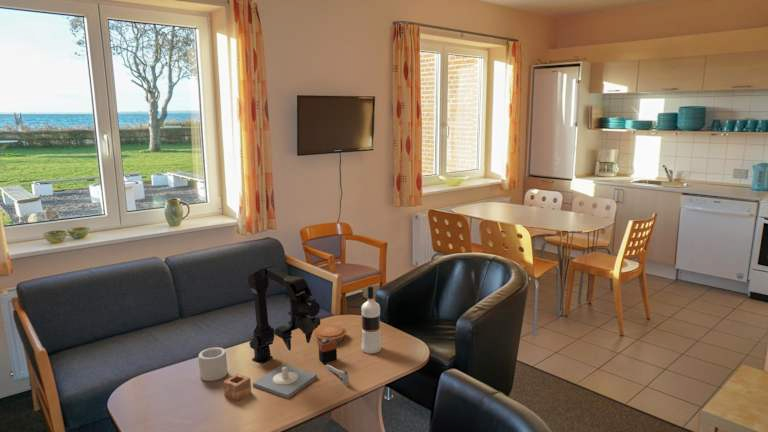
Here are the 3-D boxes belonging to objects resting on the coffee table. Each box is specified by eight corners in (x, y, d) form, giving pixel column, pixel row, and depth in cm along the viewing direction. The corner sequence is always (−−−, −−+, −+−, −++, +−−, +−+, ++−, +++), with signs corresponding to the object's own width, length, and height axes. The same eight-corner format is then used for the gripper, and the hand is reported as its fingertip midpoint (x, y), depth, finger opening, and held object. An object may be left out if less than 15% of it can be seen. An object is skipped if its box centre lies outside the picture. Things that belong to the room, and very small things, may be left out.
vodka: (367, 356, 230) (365, 291, 224) (357, 348, 238) (356, 285, 232) (385, 351, 234) (384, 287, 228) (375, 343, 242) (374, 282, 236)
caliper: (349, 387, 205) (348, 372, 204) (346, 388, 205) (346, 373, 203) (327, 366, 222) (326, 352, 221) (324, 366, 222) (324, 352, 220)
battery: (318, 360, 227) (318, 339, 225) (333, 356, 230) (332, 335, 228) (322, 364, 223) (322, 342, 221) (337, 360, 226) (336, 339, 224)
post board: (253, 386, 206) (252, 372, 205) (283, 367, 221) (282, 353, 220) (288, 398, 197) (287, 384, 196) (317, 377, 212) (316, 364, 211)
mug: (232, 374, 215) (230, 352, 213) (208, 384, 208) (206, 361, 206) (215, 364, 225) (213, 342, 222) (192, 373, 217) (190, 351, 215)
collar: (224, 395, 199) (223, 381, 198) (238, 387, 205) (237, 373, 204) (237, 400, 196) (236, 386, 195) (251, 392, 202) (250, 377, 201)
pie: (338, 348, 238) (337, 338, 237) (308, 343, 243) (307, 333, 242) (352, 335, 252) (351, 325, 251) (323, 330, 257) (323, 321, 256)
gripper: (290, 322, 194) (292, 361, 197) (328, 308, 207) (329, 345, 210) (273, 314, 201) (274, 351, 205) (311, 301, 214) (312, 336, 218)
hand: (298, 346), depth 209 cm, fingers open, 9 cm apart
